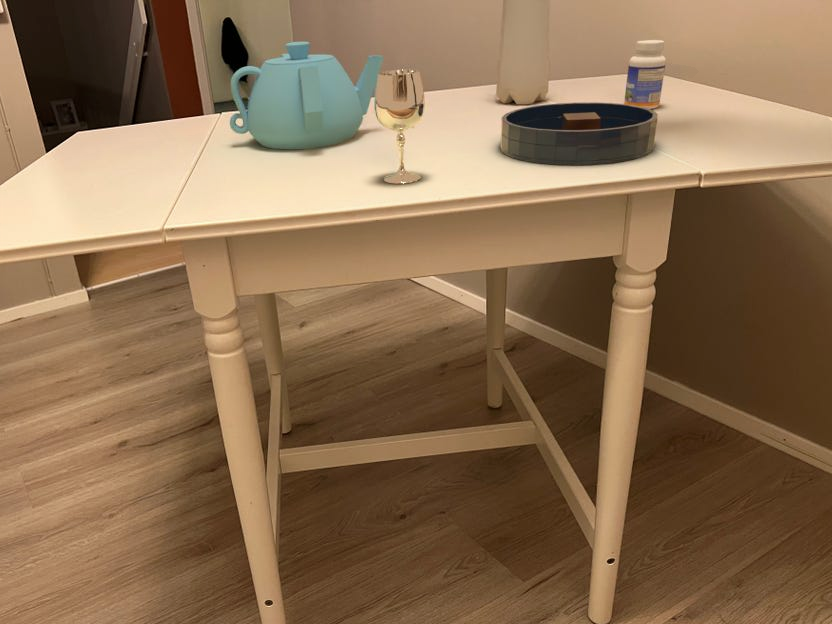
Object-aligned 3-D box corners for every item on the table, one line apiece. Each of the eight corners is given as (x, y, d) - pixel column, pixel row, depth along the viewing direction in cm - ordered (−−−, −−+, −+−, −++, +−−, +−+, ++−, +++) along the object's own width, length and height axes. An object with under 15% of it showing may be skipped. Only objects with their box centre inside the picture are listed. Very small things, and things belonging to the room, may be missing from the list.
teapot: (315, 156, 98) (305, 48, 92) (217, 147, 109) (202, 50, 102) (389, 129, 112) (385, 34, 105) (297, 123, 122) (288, 36, 116)
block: (592, 144, 92) (595, 112, 90) (597, 151, 88) (600, 118, 86) (560, 145, 92) (562, 113, 90) (564, 152, 89) (567, 119, 87)
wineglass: (433, 180, 83) (431, 72, 78) (387, 187, 82) (382, 77, 76) (415, 170, 88) (413, 67, 82) (372, 176, 87) (366, 72, 81)
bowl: (635, 128, 100) (638, 99, 98) (670, 161, 83) (675, 127, 82) (497, 134, 103) (498, 106, 101) (505, 167, 86) (506, 134, 84)
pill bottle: (621, 104, 116) (628, 40, 112) (656, 103, 115) (665, 38, 111) (625, 110, 112) (633, 43, 107) (662, 109, 111) (671, 41, 106)
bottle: (527, 107, 120) (538, -103, 106) (485, 103, 126) (489, -96, 112) (558, 98, 125) (572, -102, 111) (515, 95, 131) (524, -96, 117)
